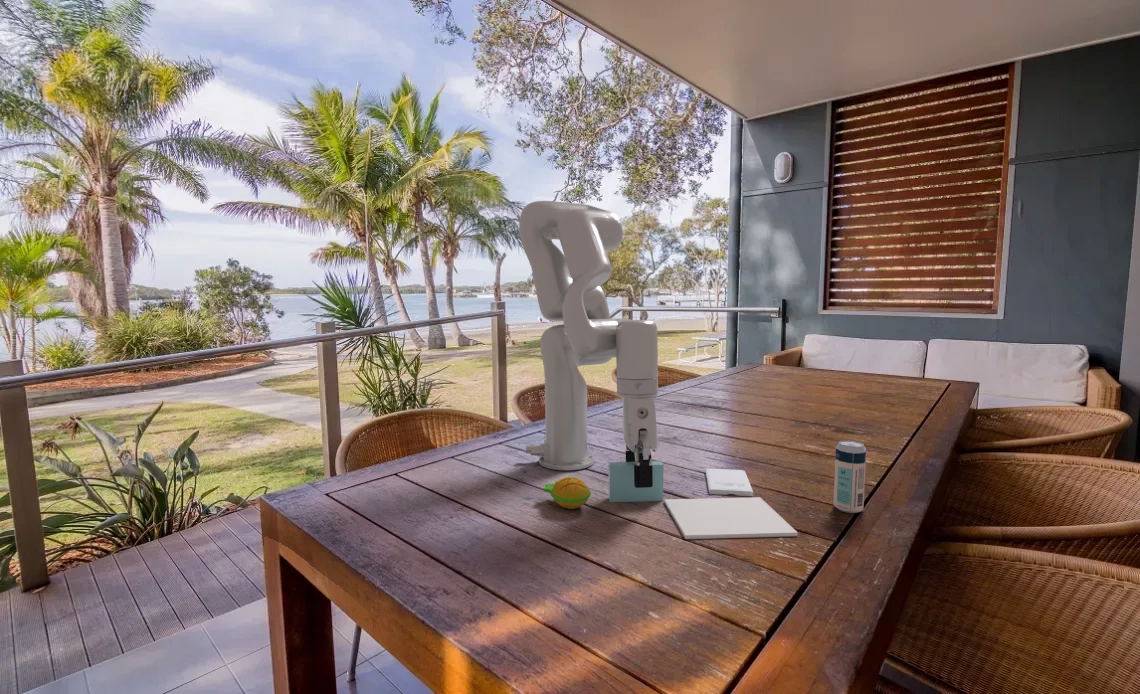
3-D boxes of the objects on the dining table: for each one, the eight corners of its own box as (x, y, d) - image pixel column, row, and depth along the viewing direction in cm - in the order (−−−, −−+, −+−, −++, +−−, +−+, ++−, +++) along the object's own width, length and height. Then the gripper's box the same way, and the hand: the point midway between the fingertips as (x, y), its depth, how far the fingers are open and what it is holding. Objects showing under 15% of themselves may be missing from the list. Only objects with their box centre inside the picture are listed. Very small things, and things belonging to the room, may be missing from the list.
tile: (609, 502, 100) (609, 465, 100) (608, 498, 102) (608, 462, 102) (663, 501, 101) (663, 464, 100) (660, 497, 103) (661, 461, 102)
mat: (685, 539, 85) (685, 535, 85) (664, 502, 100) (664, 499, 100) (797, 536, 86) (797, 532, 86) (759, 500, 101) (759, 497, 101)
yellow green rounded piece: (568, 518, 93) (568, 488, 92) (536, 501, 101) (535, 473, 100) (598, 509, 97) (598, 480, 97) (565, 493, 105) (565, 466, 105)
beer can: (860, 506, 98) (863, 441, 97) (865, 516, 93) (869, 448, 92) (831, 502, 100) (834, 438, 98) (835, 512, 95) (838, 445, 94)
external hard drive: (744, 477, 115) (753, 499, 103) (705, 475, 117) (709, 496, 104) (745, 470, 115) (753, 490, 103) (705, 468, 116) (709, 488, 104)
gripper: (668, 393, 91) (669, 493, 92) (648, 380, 108) (649, 464, 109) (624, 395, 91) (625, 495, 92) (611, 381, 108) (612, 466, 109)
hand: (638, 478), depth 100 cm, fingers open, 9 cm apart
